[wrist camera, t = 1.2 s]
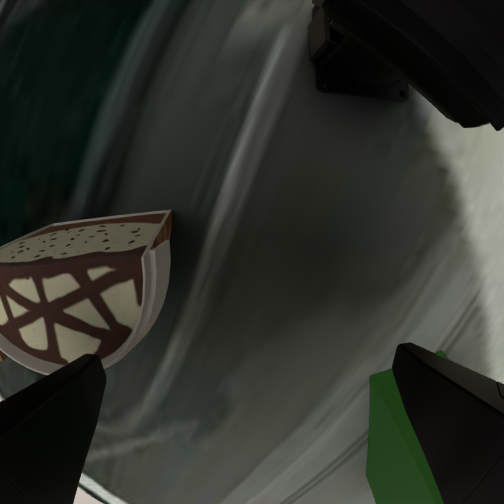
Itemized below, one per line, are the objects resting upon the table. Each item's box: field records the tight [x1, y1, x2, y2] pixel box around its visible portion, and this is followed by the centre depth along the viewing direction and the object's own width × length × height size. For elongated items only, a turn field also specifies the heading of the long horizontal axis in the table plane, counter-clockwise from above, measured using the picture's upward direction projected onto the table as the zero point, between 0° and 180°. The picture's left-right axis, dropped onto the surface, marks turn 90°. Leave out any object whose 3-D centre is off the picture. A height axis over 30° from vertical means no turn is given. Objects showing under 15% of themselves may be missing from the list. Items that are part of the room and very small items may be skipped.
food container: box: [0, 210, 172, 375], centre depth 16 cm, size 12×6×10 cm, turn 94°
